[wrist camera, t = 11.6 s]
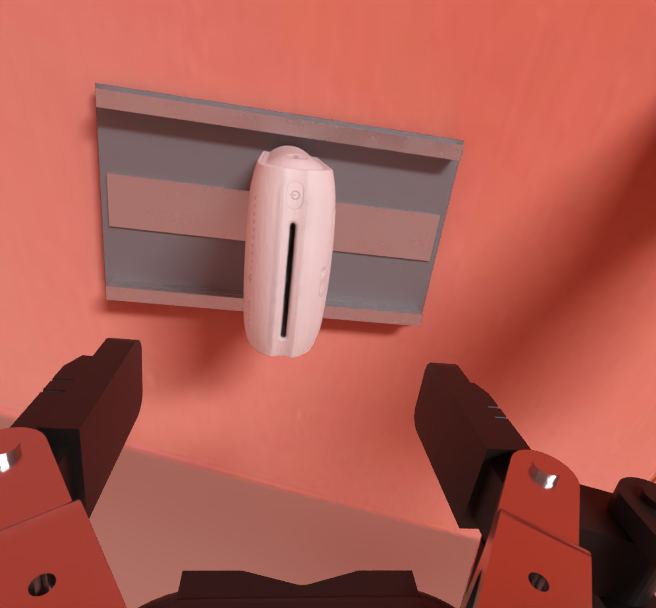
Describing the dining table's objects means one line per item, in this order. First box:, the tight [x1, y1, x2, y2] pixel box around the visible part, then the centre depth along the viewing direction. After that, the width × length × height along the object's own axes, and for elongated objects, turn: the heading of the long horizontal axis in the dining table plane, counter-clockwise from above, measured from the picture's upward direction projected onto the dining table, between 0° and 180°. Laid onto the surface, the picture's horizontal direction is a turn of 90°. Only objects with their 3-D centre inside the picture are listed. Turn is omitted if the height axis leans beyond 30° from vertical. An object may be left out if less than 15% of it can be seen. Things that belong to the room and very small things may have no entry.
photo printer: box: [244, 146, 336, 358], centre depth 25 cm, size 10×4×12 cm, turn 173°
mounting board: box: [95, 83, 464, 313], centre depth 31 cm, size 24×14×1 cm, turn 82°
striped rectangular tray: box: [95, 88, 464, 326], centre depth 30 cm, size 23×13×1 cm, turn 82°
